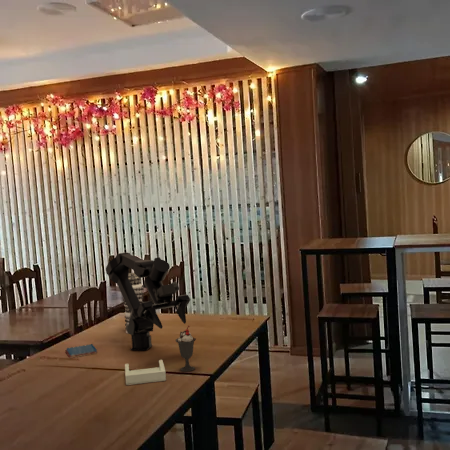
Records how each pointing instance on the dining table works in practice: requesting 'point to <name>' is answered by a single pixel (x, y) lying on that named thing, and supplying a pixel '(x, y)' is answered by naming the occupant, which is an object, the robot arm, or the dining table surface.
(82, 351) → the woven mat
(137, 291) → the decorative candle
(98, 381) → the dining table surface
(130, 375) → the end cap
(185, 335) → the sundae
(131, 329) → the robot arm
